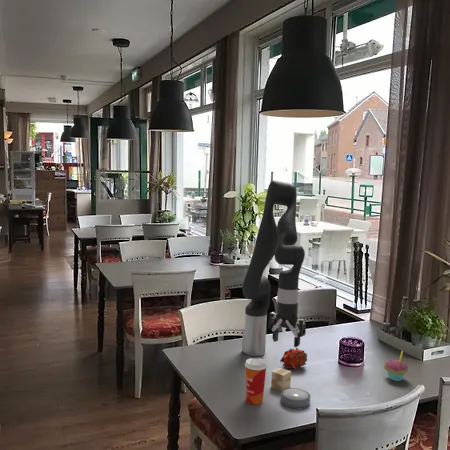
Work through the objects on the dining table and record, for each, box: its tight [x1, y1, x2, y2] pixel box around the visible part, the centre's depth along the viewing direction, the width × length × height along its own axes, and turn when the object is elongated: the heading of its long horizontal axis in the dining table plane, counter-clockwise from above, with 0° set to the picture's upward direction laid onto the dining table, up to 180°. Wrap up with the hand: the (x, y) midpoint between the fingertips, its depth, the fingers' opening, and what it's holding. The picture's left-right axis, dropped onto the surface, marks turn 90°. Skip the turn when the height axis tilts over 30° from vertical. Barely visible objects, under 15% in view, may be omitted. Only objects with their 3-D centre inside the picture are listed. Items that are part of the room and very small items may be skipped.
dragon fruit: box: [280, 347, 308, 371], centre depth 197 cm, size 8×8×12 cm
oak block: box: [270, 367, 292, 392], centre depth 179 cm, size 5×5×6 cm
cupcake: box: [383, 349, 409, 382], centre depth 189 cm, size 9×8×12 cm
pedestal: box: [280, 387, 311, 409], centre depth 168 cm, size 10×10×3 cm
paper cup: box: [244, 357, 268, 406], centre depth 167 cm, size 8×8×14 cm
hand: (285, 343), depth 178 cm, fingers open, 8 cm apart
